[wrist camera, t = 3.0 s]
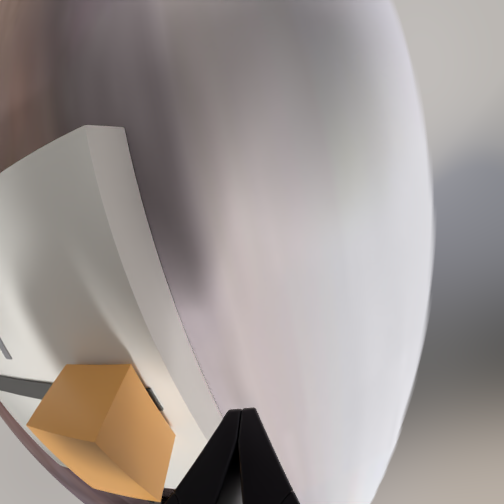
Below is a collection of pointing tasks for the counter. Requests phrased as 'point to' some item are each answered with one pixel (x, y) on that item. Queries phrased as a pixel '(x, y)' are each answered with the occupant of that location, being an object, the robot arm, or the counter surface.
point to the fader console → (91, 287)
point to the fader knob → (106, 429)
